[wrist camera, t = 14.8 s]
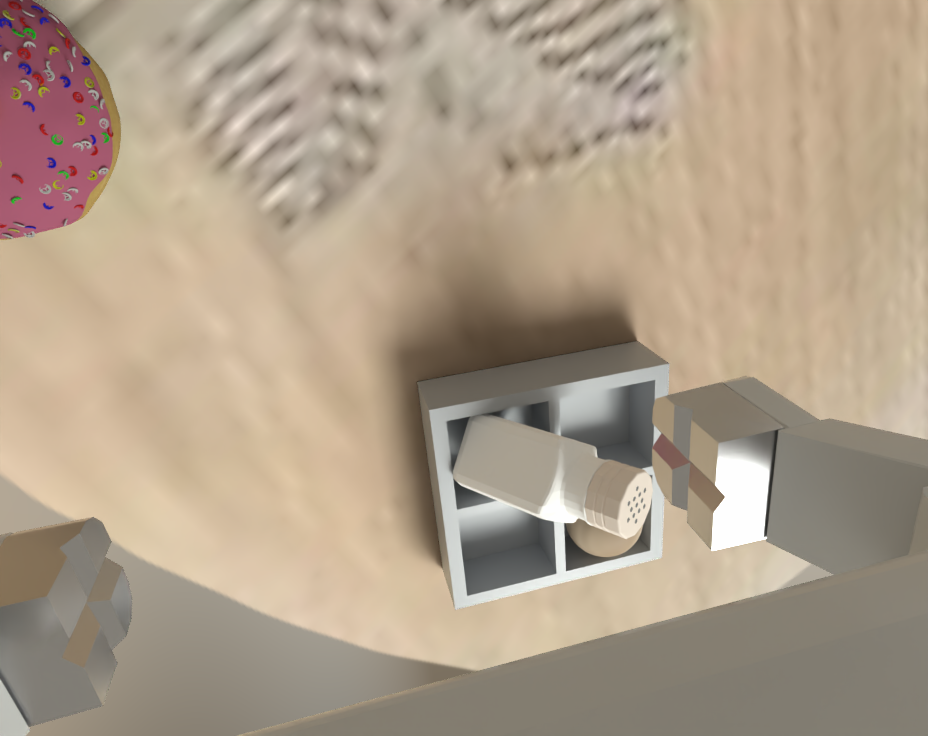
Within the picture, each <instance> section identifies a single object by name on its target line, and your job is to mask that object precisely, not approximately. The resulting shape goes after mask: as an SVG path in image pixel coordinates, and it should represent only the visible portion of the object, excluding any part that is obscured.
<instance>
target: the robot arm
mask: <svg viewBox="0 0 928 736" xmlns="http://www.w3.org/2000/svg"><path fill="white" fill-rule="evenodd" d="M652 423H653V424H654V425H655V427H656V428H657V429H658V430H659V431H660V432H661V435H660V436H659V438H658V439H657V441H656V442H655V444H654V445H653V447H652V466H653V470H654V474H655V477H656V481H657V484H658V486H659V488H660V489H661V491H662V493H663V495H664V496H665V497H666V499H667V500H668V501H669V502H670V503H671V505H674V506H676V507H679V508H681V509H684V510H687V523H688V524H689V525H690V527H691V528H692V529H693V530H694V531H695V532H696V533H697V535H698V536H699V537H700V538H701V539H702V540H703V541H704V542H705V544H706V545H707V546H708V547H709V548H710V549H711V550H712V551H713V550H718V549H722V548H727V547H731V546H736V545H740V544H745V543H749V542H753V541H758V540H762V539H766V541H767V542H769V543H771V544H773V545H775V546H777V547H779V548H781V549H783V550H785V551H787V552H789V553H791V554H793V555H795V556H797V557H799V558H801V559H803V560H805V561H807V562H809V563H811V564H814V565H816V566H818V567H820V568H822V569H824V570H826V571H828V572H830V573H832V574H834V575H832V576H828V577H825V578H821V579H817V580H813V581H810V582H806V583H802V584H799V585H795V586H791V587H787V588H784V589H780V590H776V591H773V592H769V593H765V594H761V595H758V596H754V597H750V598H747V599H743V600H739V601H735V602H732V603H728V604H724V605H721V606H717V607H713V608H709V609H706V610H702V611H698V612H695V613H691V614H687V615H683V616H680V617H676V618H672V619H669V620H665V621H661V622H657V623H654V624H650V625H646V626H643V627H639V628H635V629H631V630H628V631H624V632H620V633H617V634H613V635H609V636H605V637H602V638H598V639H594V640H591V641H587V642H583V643H579V644H576V645H572V646H568V647H565V648H561V649H557V650H553V651H550V652H546V653H542V654H539V655H535V656H531V657H528V658H524V659H520V660H517V661H513V662H509V663H506V664H502V665H498V666H494V667H491V668H487V669H483V670H480V671H476V672H472V673H468V674H465V675H461V676H457V677H454V678H450V679H446V680H443V681H439V682H435V683H431V684H428V685H424V686H420V687H417V688H413V689H409V690H405V691H402V692H398V693H394V694H390V695H387V696H383V697H379V698H376V699H372V700H368V701H364V702H361V703H357V704H353V705H350V706H346V707H342V708H339V709H335V710H331V711H328V712H323V713H320V714H316V715H312V716H309V717H305V718H302V719H298V720H294V721H290V722H287V723H283V724H279V725H275V726H271V727H268V728H264V729H260V730H257V731H253V732H249V733H246V734H242V735H238V736H928V440H926V439H921V438H916V437H912V436H907V435H903V434H898V433H894V432H889V431H884V430H880V429H875V428H871V427H866V426H862V425H857V424H852V423H848V422H843V421H839V420H834V419H825V420H821V421H820V420H819V419H817V418H815V417H814V416H812V415H811V414H809V413H808V412H806V411H805V410H803V409H802V408H800V407H799V406H797V405H795V404H794V403H792V402H791V401H789V400H788V399H786V398H785V397H783V396H782V395H780V394H779V393H777V392H775V391H774V390H772V389H771V388H769V387H768V386H766V385H765V384H763V383H762V382H760V381H759V380H757V379H755V378H754V377H747V376H744V377H740V378H736V379H732V380H728V381H724V382H721V383H717V384H712V385H708V386H704V387H700V388H696V389H692V390H687V391H683V392H679V393H675V394H671V395H667V396H663V397H659V398H656V400H655V403H654V406H653V416H652ZM111 542H112V541H111V539H110V537H109V535H108V533H107V531H106V529H105V527H104V525H103V523H102V522H101V521H99V520H98V519H96V518H94V517H91V518H86V519H81V520H76V521H70V522H65V523H61V524H55V525H50V526H45V527H40V528H34V529H29V530H24V531H20V532H16V533H7V534H3V535H0V736H26V735H27V733H28V732H29V731H30V729H29V727H30V726H34V725H37V724H41V723H44V722H48V721H52V720H55V719H58V718H62V717H66V716H69V715H73V714H76V713H80V712H84V711H87V710H91V709H94V708H98V707H101V706H103V704H104V702H105V698H106V696H107V692H108V690H109V687H110V684H111V680H112V678H113V674H114V672H115V669H116V666H117V661H116V659H115V656H114V654H113V652H112V650H113V648H115V646H117V645H118V644H119V643H120V642H121V641H122V640H123V639H124V638H125V637H126V635H127V632H128V629H129V625H130V622H131V616H132V595H131V591H130V586H129V581H128V579H127V577H126V574H125V572H124V569H123V567H121V566H120V565H118V564H116V563H115V562H113V561H111V560H110V559H108V558H106V557H105V556H106V554H107V551H108V549H109V547H110V544H111Z"/></svg>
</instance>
